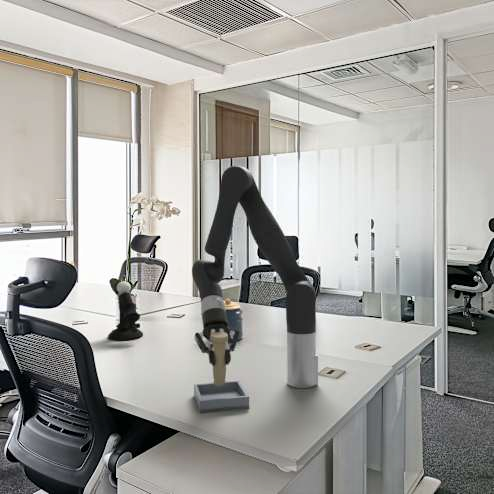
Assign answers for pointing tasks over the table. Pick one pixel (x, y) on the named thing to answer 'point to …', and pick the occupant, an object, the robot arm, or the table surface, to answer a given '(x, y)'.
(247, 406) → the tray
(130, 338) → the sculpture
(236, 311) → the canister
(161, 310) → the table surface
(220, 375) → the beige club-shaped piece
